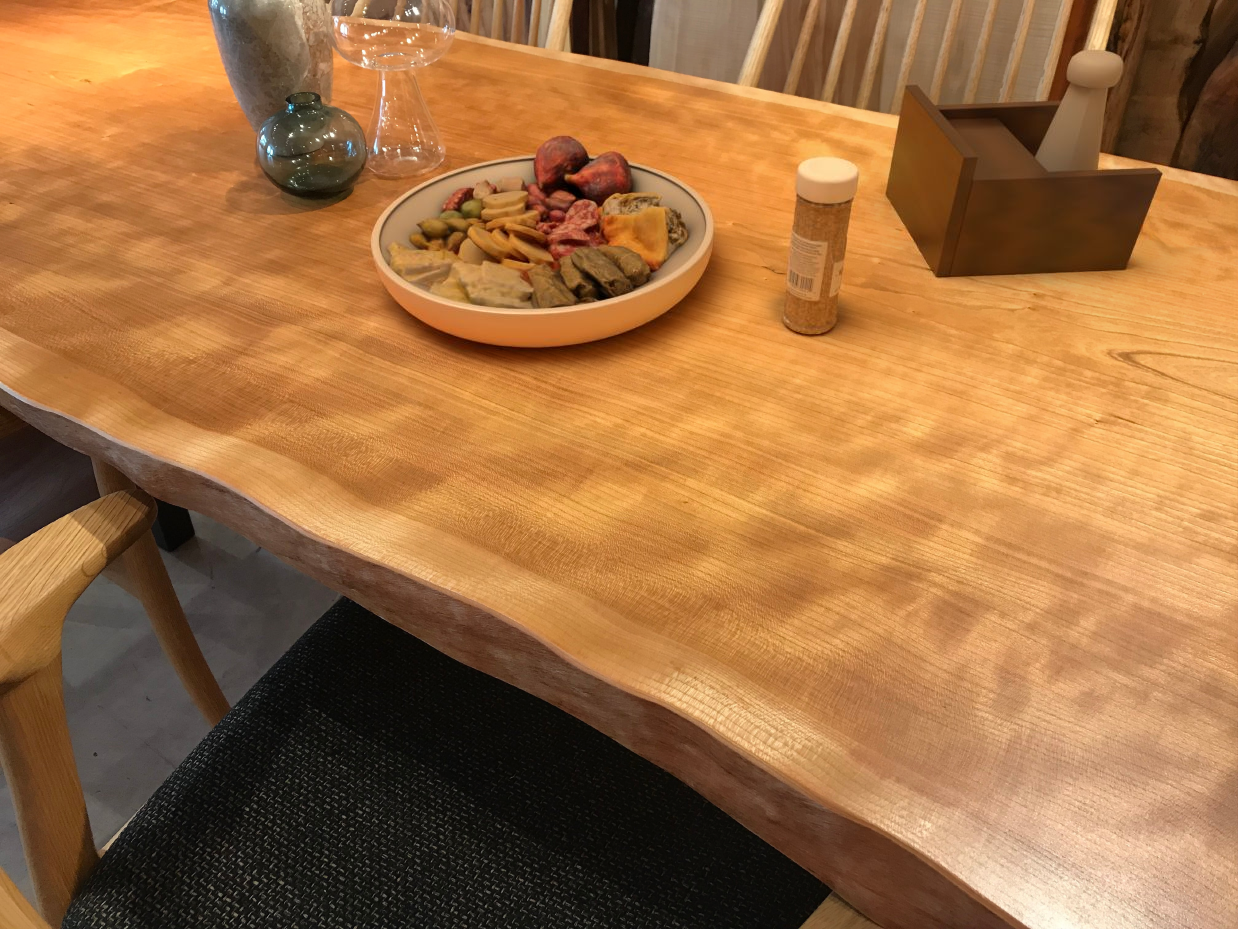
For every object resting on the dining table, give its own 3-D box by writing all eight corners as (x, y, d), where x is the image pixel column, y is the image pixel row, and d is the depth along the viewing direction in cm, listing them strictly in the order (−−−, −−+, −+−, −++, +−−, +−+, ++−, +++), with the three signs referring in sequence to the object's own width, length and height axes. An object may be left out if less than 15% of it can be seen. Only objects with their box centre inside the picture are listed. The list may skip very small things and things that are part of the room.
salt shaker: (1093, 192, 87) (1142, 49, 78) (1082, 216, 83) (1132, 68, 75) (1029, 180, 89) (1070, 39, 81) (1016, 203, 85) (1057, 58, 77)
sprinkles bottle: (846, 327, 76) (872, 171, 67) (800, 342, 74) (821, 184, 65) (814, 302, 79) (835, 149, 70) (769, 315, 77) (785, 161, 68)
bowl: (714, 371, 71) (719, 282, 66) (339, 363, 73) (316, 276, 68) (709, 201, 94) (713, 125, 89) (423, 198, 96) (410, 123, 90)
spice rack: (1049, 187, 95) (1082, 78, 87) (1125, 269, 82) (1172, 149, 75) (885, 193, 94) (905, 84, 87) (935, 277, 81) (964, 157, 74)
